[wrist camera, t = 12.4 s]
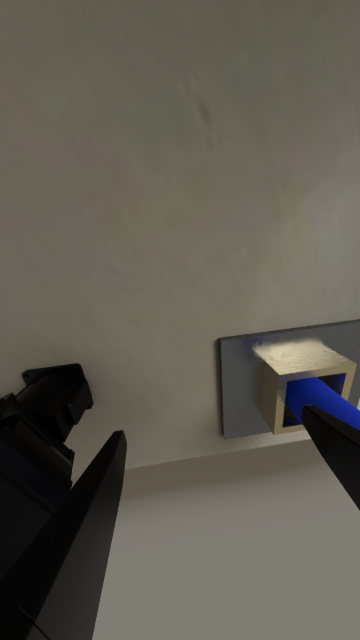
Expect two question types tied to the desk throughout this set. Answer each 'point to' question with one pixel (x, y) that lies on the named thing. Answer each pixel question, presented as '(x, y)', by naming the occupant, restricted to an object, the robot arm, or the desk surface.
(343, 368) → the plate
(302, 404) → the beverage can
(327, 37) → the desk surface
